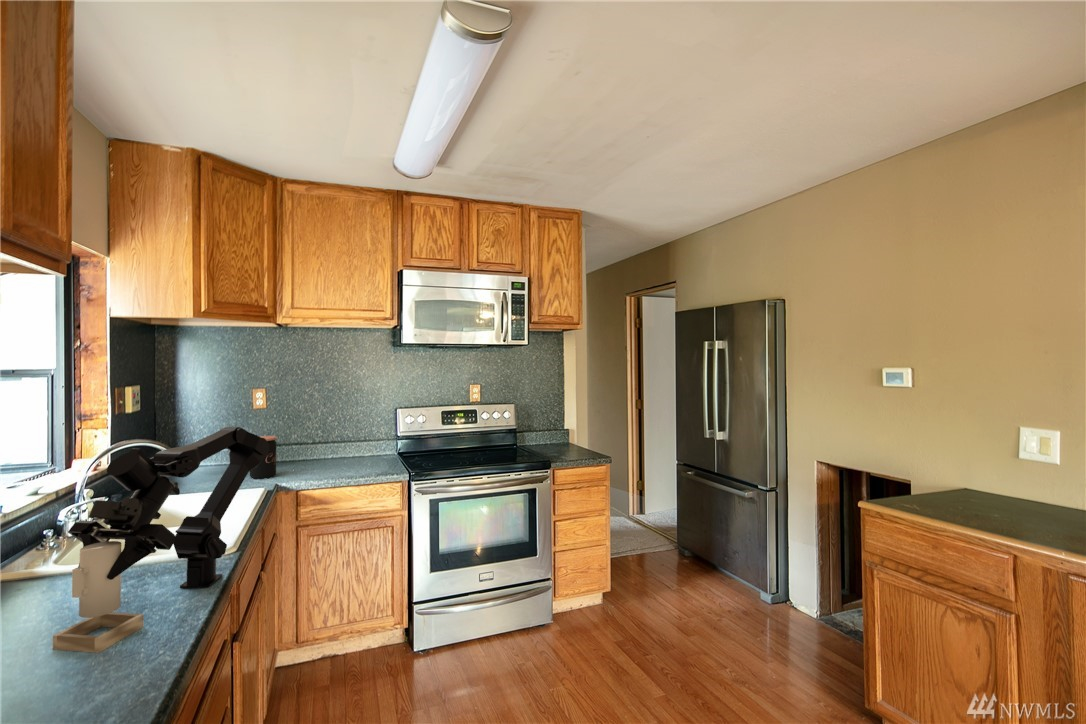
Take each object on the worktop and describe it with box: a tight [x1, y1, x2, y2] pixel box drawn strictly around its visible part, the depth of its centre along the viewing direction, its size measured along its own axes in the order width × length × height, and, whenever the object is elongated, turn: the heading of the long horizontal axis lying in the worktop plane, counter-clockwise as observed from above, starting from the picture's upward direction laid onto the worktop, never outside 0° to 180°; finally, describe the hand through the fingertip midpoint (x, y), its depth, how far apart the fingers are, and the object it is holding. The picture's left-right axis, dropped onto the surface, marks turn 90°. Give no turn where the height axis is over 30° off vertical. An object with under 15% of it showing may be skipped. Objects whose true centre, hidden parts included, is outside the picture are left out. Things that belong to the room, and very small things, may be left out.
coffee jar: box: [249, 435, 277, 480], centre depth 236 cm, size 11×11×18 cm
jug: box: [71, 540, 122, 619], centre depth 97 cm, size 8×6×12 cm
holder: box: [52, 611, 144, 654], centre depth 98 cm, size 9×9×2 cm
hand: (93, 577), depth 97 cm, fingers closed on jug, 6 cm apart
